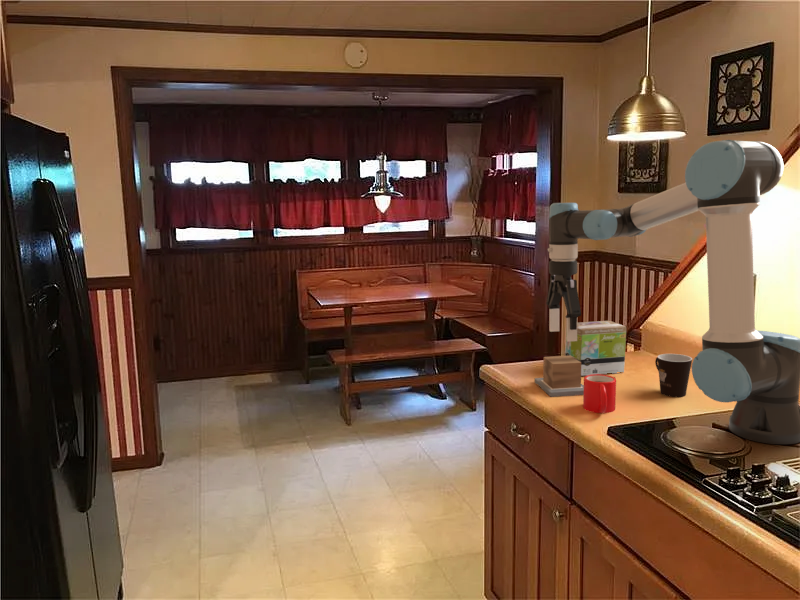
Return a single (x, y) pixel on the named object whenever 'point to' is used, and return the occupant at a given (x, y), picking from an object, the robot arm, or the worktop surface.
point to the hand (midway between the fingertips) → (562, 336)
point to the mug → (599, 393)
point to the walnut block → (562, 372)
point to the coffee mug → (673, 374)
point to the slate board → (559, 391)
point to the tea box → (599, 347)
